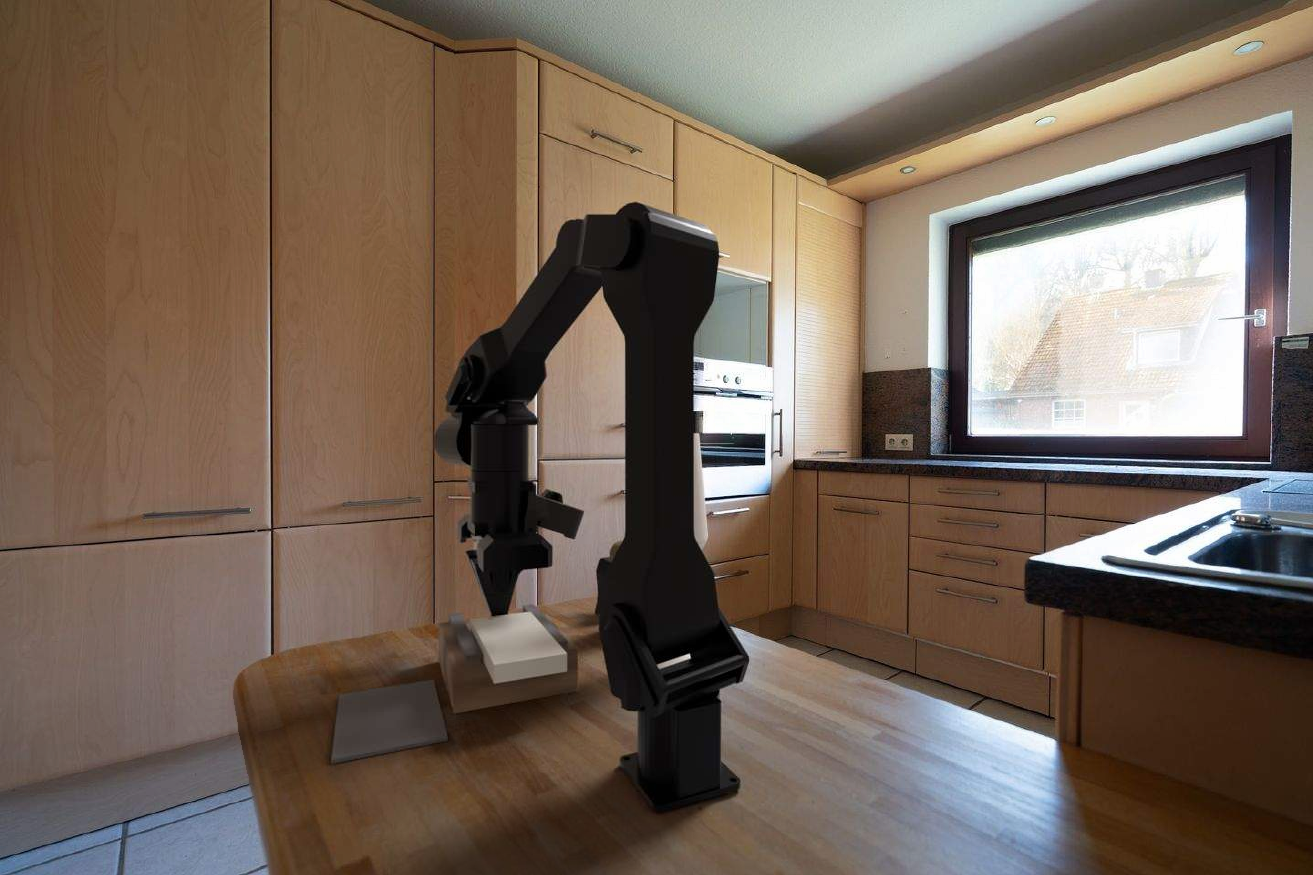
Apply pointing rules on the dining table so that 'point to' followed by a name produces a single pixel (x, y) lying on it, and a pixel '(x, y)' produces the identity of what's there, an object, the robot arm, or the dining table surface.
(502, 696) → the lid box
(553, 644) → the cover plate
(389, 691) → the mat
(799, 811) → the dining table surface
